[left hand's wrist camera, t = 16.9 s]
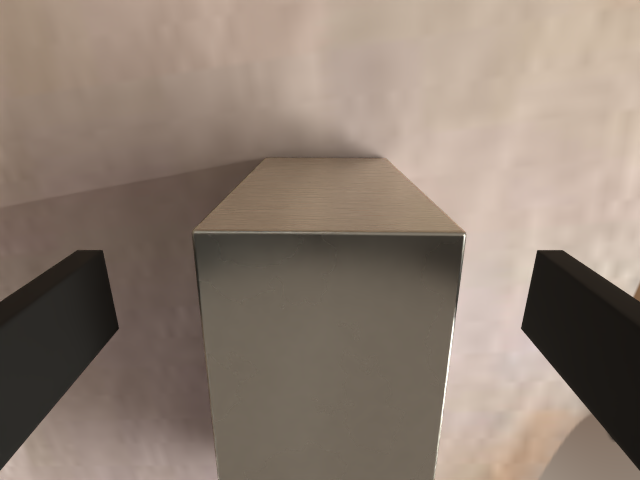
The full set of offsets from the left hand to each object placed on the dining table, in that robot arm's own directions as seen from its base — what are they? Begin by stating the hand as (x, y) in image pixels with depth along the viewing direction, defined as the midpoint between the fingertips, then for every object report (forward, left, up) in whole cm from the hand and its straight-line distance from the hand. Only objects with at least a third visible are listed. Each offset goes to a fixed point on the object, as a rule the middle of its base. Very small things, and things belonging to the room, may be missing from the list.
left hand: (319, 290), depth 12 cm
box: (+7, +3, -10) cm, 12 cm away
